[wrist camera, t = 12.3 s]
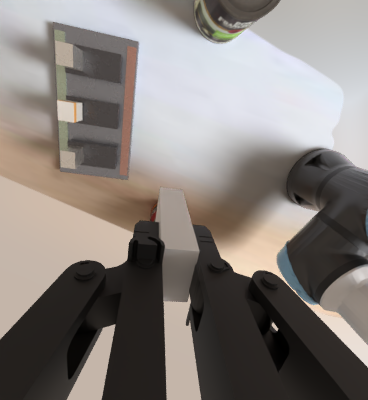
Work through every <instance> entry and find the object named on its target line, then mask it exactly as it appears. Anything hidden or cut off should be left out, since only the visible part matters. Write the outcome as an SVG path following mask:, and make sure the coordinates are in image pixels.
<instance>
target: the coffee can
mask: <svg viewBox="0 0 368 400" xmlns="http://www.w3.org/2000/svg"><path fill="white" fill-rule="evenodd" d="M279 2H280V0H195V2H194V16H195V21H196V24H197V26H198V28H199V30H200V32H201V33H202V35H203V36H204V37H205V38H207V39H208V40H210V41H212V42H214V43H219V44H223V43H227V42H230V41H232V40H233V39H235V38H236V37H237V36H238V35H239V34H241V33H242V32H243V31H244V30H246V29H247V28H248V27H249V26H251V25H252V24H253V23H255V22H256V21H257V20H258V19H260V18H262V17H263V16H265V15H266V14H268V13H269V12H270V11H271V10H273V9H274V8H275V7H276V6H277V4H278V3H279Z"/></svg>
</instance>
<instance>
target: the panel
mask: <svg viewBox="0 0 368 400" xmlns="http://www.w3.org/2000/svg"><path fill="white" fill-rule="evenodd" d="M53 31H54V52H55V73H56V94H57V100H70V101H76V102H81V103H82V120H81V121H78V122H76V123H72V122H66V121H60V120H58V136H59V157H60V171H61V172H69V173H77V174H85V175H93V176H101V177H109V178H117V179H125V180H128V178H129V165H130V152H131V140H132V127H133V114H134V102H135V89H136V76H137V64H138V51H139V42H137V41H133V40H129V39H124V38H120V37H116V36H111V35H107V34H103V33H98V32H94V31H90V30H85V29H81V28H77V27H72V26H68V25H64V24H59V23H55V22H53ZM57 115H58V110H57Z"/></svg>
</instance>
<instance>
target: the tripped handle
mask: <svg viewBox="0 0 368 400" xmlns="http://www.w3.org/2000/svg"><path fill="white" fill-rule="evenodd" d="M57 110H58V120H60V121H66V122H72V123H76V122H78V121H81V120H82V103H81V102H76V101H70V100H57Z"/></svg>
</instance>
